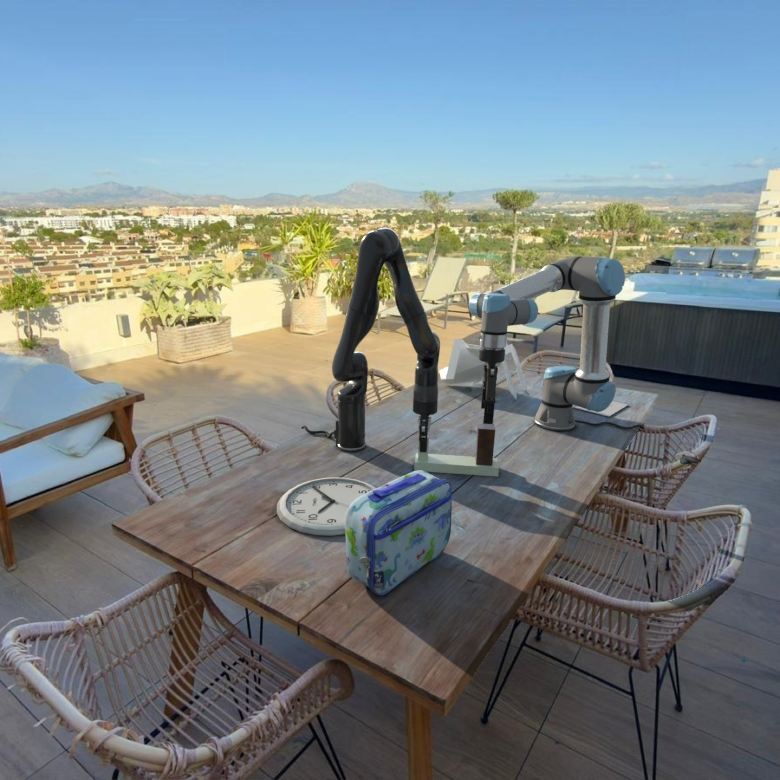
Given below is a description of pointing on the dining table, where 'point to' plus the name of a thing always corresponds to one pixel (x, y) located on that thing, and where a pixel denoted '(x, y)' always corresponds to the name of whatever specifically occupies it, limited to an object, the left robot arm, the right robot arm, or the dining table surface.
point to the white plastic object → (478, 366)
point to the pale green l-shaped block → (452, 464)
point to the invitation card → (607, 409)
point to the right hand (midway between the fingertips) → (486, 415)
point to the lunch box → (397, 529)
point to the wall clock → (320, 505)
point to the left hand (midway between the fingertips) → (423, 448)
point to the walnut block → (485, 444)
